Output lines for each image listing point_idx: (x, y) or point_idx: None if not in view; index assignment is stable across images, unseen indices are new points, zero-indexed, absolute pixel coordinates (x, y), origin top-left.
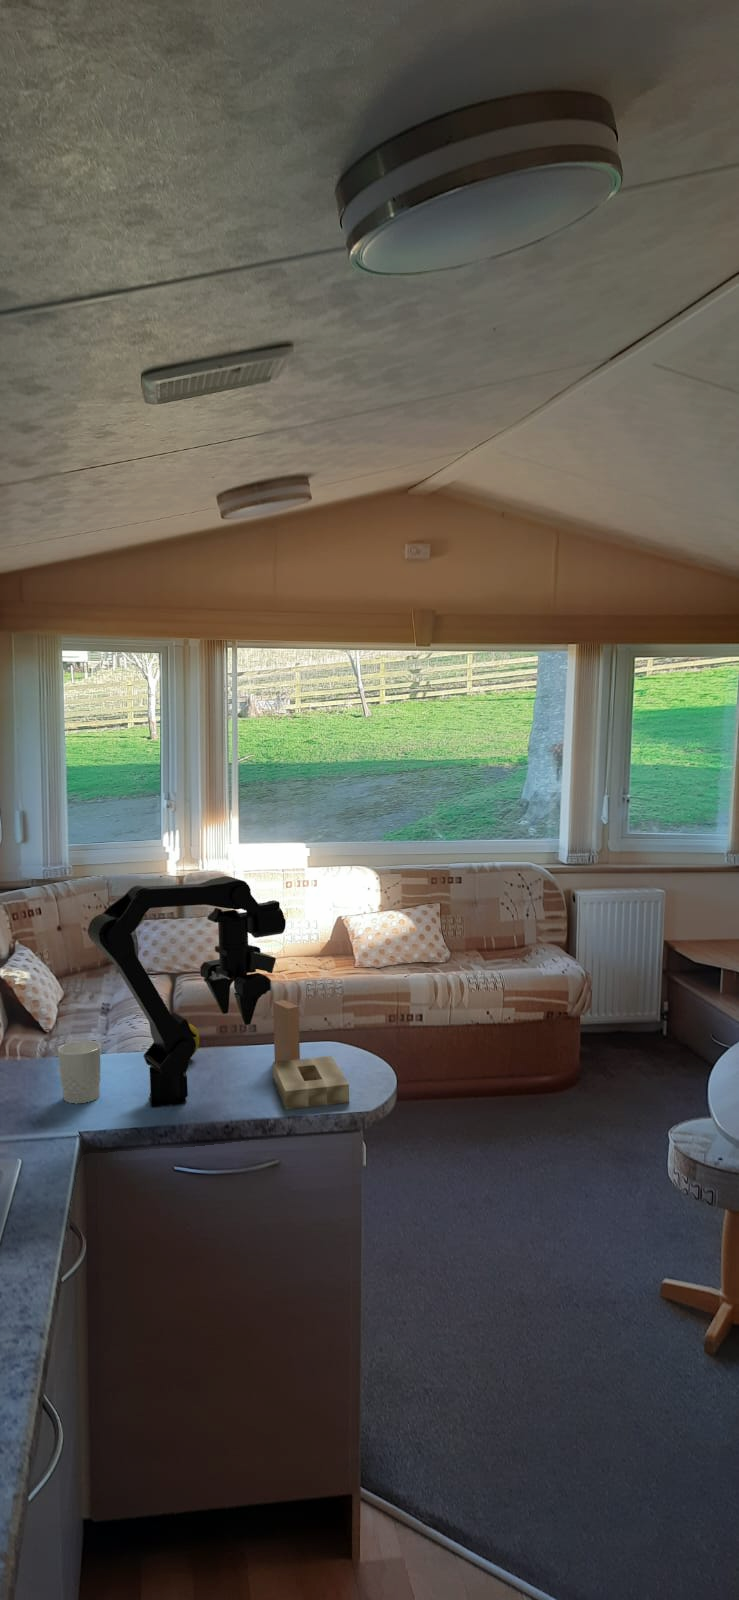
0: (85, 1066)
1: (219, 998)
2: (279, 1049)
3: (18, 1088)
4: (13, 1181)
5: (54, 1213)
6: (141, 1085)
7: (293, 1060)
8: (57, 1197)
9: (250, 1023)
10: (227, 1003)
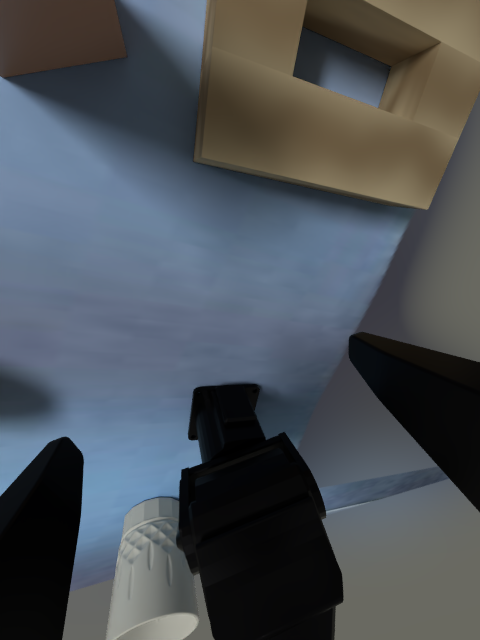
0: (193, 580)
1: (47, 622)
2: (16, 37)
3: (80, 584)
4: (352, 507)
5: (422, 470)
6: (124, 452)
7: (219, 52)
8: (401, 473)
9: (364, 333)
10: (35, 510)
